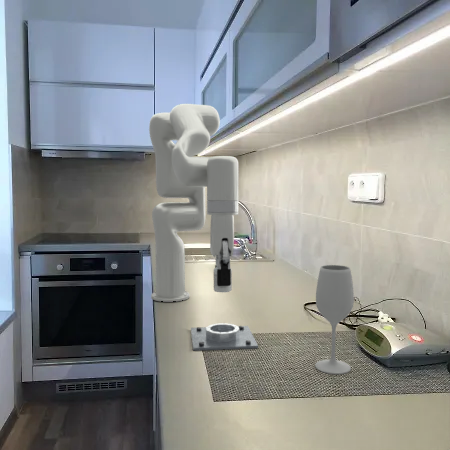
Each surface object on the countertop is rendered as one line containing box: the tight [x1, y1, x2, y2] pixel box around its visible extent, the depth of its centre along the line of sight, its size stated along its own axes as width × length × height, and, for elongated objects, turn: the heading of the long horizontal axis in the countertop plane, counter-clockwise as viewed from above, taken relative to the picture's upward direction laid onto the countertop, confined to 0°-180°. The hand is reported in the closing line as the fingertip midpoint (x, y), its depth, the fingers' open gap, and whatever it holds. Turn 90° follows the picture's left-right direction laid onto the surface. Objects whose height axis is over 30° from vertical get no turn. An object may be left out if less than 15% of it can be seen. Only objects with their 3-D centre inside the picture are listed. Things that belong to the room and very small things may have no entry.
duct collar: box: [205, 322, 239, 342], centre depth 114 cm, size 8×8×2 cm
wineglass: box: [314, 264, 355, 375], centre depth 95 cm, size 8×8×21 cm
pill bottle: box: [213, 258, 233, 293], centre depth 112 cm, size 4×4×8 cm
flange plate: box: [190, 325, 259, 351], centre depth 114 cm, size 15×15×1 cm
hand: (222, 282), depth 113 cm, fingers closed on pill bottle, 4 cm apart
